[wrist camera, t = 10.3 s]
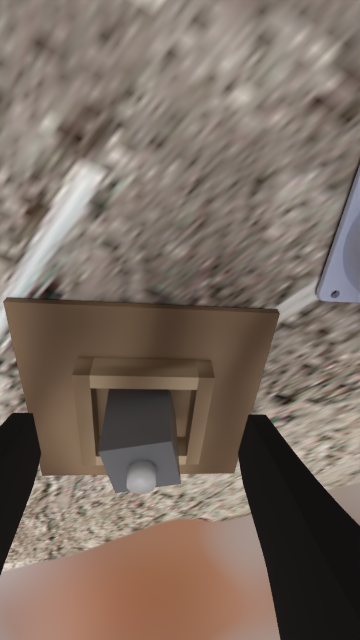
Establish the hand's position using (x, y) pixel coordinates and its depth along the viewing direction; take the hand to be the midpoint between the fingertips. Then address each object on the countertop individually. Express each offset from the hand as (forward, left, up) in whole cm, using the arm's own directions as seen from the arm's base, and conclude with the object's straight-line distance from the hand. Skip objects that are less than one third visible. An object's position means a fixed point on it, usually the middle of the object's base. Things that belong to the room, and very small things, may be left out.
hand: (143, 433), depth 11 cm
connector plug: (0, +8, -9) cm, 12 cm away
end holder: (0, +8, -9) cm, 12 cm away
